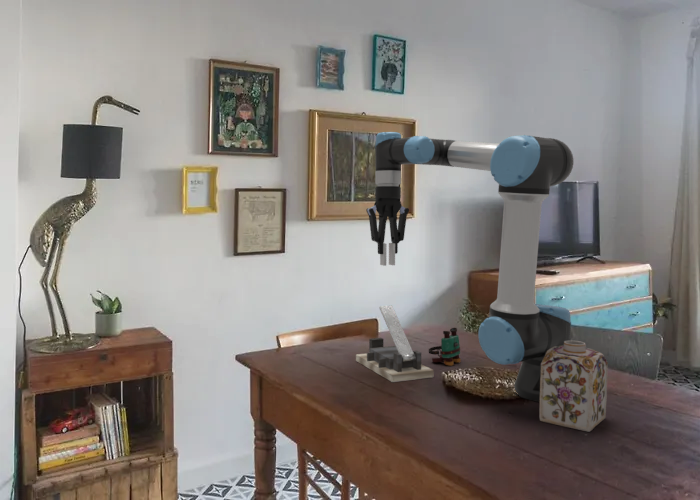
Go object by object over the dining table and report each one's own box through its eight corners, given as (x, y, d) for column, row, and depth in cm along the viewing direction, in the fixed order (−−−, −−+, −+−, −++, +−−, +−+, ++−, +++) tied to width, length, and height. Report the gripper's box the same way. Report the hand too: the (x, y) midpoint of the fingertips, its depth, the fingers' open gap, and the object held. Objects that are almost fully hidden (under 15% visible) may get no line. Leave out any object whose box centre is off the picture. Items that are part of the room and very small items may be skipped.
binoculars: (435, 326, 202) (463, 327, 196) (438, 359, 202) (466, 361, 196) (421, 331, 195) (449, 331, 189) (423, 365, 195) (452, 367, 189)
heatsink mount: (433, 377, 179) (433, 353, 178) (392, 382, 174) (392, 357, 173) (393, 356, 202) (393, 335, 201) (355, 360, 197) (356, 339, 196)
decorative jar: (537, 421, 143) (539, 343, 142) (556, 408, 152) (558, 334, 151) (591, 433, 136) (594, 350, 135) (607, 418, 145) (610, 341, 144)
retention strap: (414, 361, 179) (416, 357, 178) (402, 362, 178) (403, 358, 177) (390, 308, 192) (392, 304, 191) (378, 309, 191) (380, 305, 190)
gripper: (405, 186, 194) (404, 262, 195) (359, 185, 188) (359, 264, 189) (416, 185, 187) (416, 265, 188) (369, 185, 181) (369, 267, 183)
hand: (387, 264), depth 189 cm, fingers open, 2 cm apart
